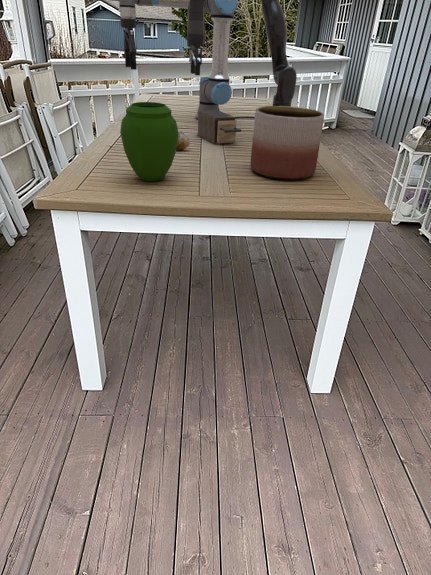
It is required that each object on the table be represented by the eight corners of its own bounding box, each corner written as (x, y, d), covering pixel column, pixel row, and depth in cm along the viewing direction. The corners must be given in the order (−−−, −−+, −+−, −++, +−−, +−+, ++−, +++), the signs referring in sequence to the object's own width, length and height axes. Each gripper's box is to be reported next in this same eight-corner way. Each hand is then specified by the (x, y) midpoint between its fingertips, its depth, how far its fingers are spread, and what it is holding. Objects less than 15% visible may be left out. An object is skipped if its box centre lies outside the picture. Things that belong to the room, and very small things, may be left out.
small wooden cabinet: (233, 142, 199) (235, 117, 193) (214, 144, 195) (215, 117, 189) (215, 134, 215) (216, 109, 208) (197, 135, 211) (198, 110, 204)
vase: (131, 189, 135) (125, 110, 122) (118, 172, 150) (112, 100, 137) (186, 184, 142) (187, 109, 129) (169, 168, 157) (167, 99, 144)
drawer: (241, 145, 192) (242, 123, 187) (223, 146, 188) (224, 123, 183) (218, 133, 210) (219, 113, 205) (202, 134, 207) (202, 114, 202)
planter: (324, 181, 152) (336, 118, 140) (258, 182, 148) (265, 117, 136) (301, 162, 173) (310, 106, 162) (243, 162, 169) (248, 104, 157)
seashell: (189, 148, 186) (189, 129, 181) (190, 151, 181) (190, 132, 177) (168, 148, 184) (168, 129, 180) (169, 151, 180) (168, 132, 175)
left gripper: (115, 18, 205) (119, 65, 217) (125, 17, 186) (128, 70, 197) (130, 18, 208) (133, 66, 219) (141, 18, 188) (143, 70, 200)
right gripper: (208, 33, 173) (207, 76, 182) (200, 32, 185) (199, 73, 193) (191, 32, 171) (190, 75, 180) (183, 32, 183) (183, 72, 192)
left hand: (130, 68), depth 208 cm, fingers open, 13 cm apart
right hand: (195, 74), depth 187 cm, fingers open, 8 cm apart
